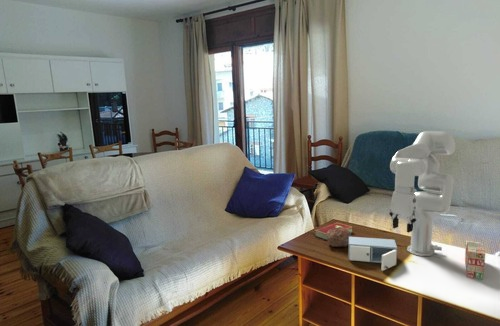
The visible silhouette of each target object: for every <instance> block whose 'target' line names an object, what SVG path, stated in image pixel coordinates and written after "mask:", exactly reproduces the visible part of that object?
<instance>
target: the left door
mask: <svg viewBox="0 0 500 326" xmlns="http://www.w3.org/2000/svg"><path fill="white" fill-rule="evenodd" d="M397 260H398V247H397V248H395V250H393V251H390V252H388V253H386V254H383V255H382V263H380V264H381V266H380V267H381V269H380V270H381V271H383V272H384V271H385V270H388V269H390V268H392V267H394V266H397V262H398V261H397Z"/></svg>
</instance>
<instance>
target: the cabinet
mask: <svg viewBox="0 0 500 326" xmlns="http://www.w3.org/2000/svg"><path fill="white" fill-rule="evenodd" d="M395 248H397V249H398V246H397V244H396V240H395V239H391V238H390V239H388V238H378V237H377V238H375V237H361V236H352V237H349V243H348V261H354V262H364V263H365V262H366V263H377V264H378V263H379V264H382V255H383V254H386V253H388V252H390V251H393V250H395Z"/></svg>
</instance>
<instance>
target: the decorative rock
mask: <svg viewBox="0 0 500 326" xmlns="http://www.w3.org/2000/svg"><path fill="white" fill-rule="evenodd" d="M327 237H328V240H327V243H328V244H329V246H331V247H333V248H334V247H336V248H340V247H347V246H349V237H353V236H352V233H350V231H349V230H348V229H345V228H343V229H342V228H341V229H331V230H328V232H327Z"/></svg>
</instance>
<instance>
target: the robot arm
mask: <svg viewBox="0 0 500 326" xmlns="http://www.w3.org/2000/svg"><path fill="white" fill-rule="evenodd" d="M414 140H415V141H413V143H412V144H411V145H408V146H406V147H405V148H402V149H399V150H397V152H396V153H395V154H394V155H393V156H392V158H391V160H390V163H389V169H390V171H391V173H393V174H395V178H394V191H393V192H392V196H391V202H390V206H389V207H387V208H386V211H387V212H388V213H389V216H390V217H391V220H392V229H397V228H399V218H398V217H399V216H402V217H406V218H407V219H406V220H407V222H408V223H406V232H407V233H410V234H411V235H410V245H408V246H407V248H406V250H407V251H408V252H409V253H410V254H412V255H415V256H419V257H431V256H433V255H434V254H435V251H443V250H442V249H443V248H442V246H438V244H432V239H433V237H432V236H433V225H434V223H433V222H434V221H433V217H432V215H431V214H430V213H435V214H443V215H446V214H447V213H448V212H449V211H450V208H451V203H452V198H453V191H454V185H455V184H454V182H455V181H454V177H453V176H452V175H451V174H449V173H442V172H439V171H440V166H441V165H440V163H439V161H438V159H437V158H436V157H435V156H434V155H442V156H450V155H453V153H454V152H455V151H456V142H455V139H454V138H453V136H452V134H450V133H449V132H447V131H443V130H441V131H440V130H438V131H436V130H425V131H422V132H420V133H419V134H418V135H417V137H416V138H415V139H414ZM415 177H418V179H417V186H418V188H419V189H420V190H424V191H418V190H417V188H415V179H416V178H415ZM427 191H428V192H427Z"/></svg>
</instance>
